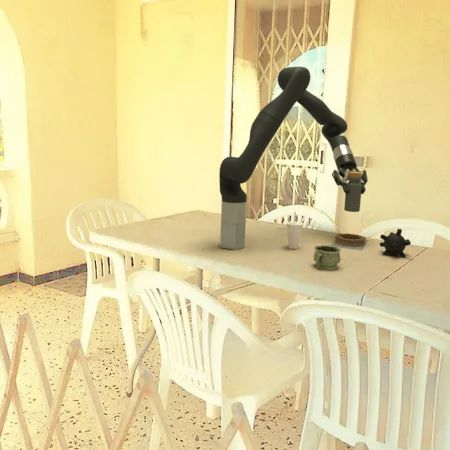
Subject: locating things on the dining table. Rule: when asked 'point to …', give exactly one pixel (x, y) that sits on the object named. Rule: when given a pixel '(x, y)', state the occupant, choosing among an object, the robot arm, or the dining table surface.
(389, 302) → the dining table surface
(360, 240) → the ring
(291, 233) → the smoothie
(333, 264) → the vessel
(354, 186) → the bottle
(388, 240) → the toy ball
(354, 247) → the mat
